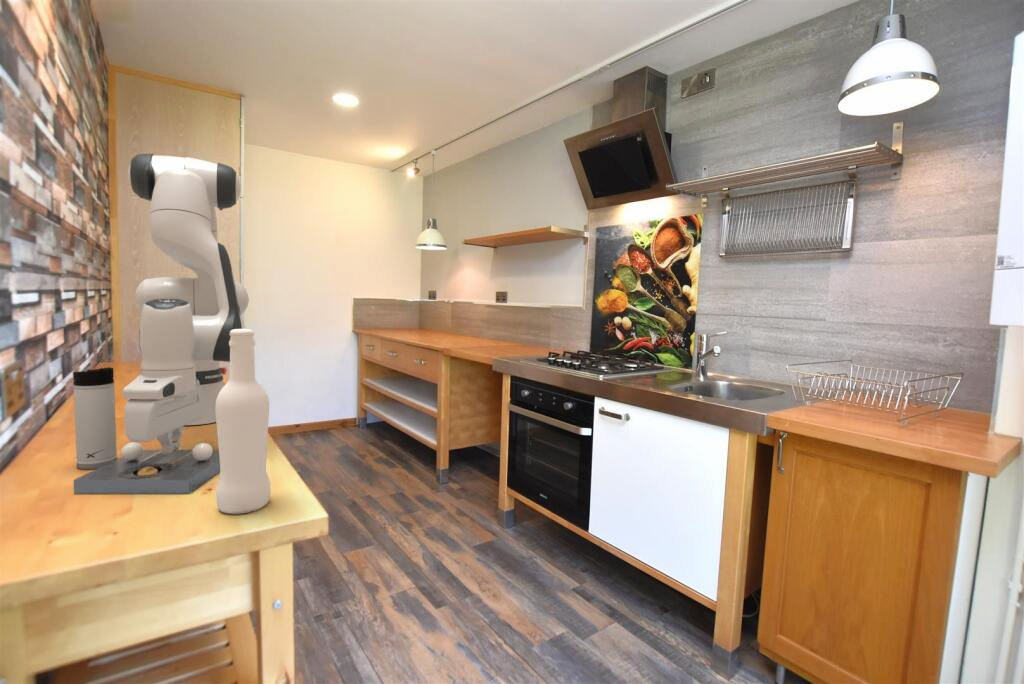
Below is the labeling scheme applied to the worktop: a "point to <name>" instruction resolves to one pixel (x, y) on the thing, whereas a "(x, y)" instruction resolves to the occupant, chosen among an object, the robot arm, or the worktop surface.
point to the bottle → (242, 432)
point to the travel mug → (95, 418)
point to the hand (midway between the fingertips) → (170, 451)
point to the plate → (173, 476)
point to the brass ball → (147, 471)
